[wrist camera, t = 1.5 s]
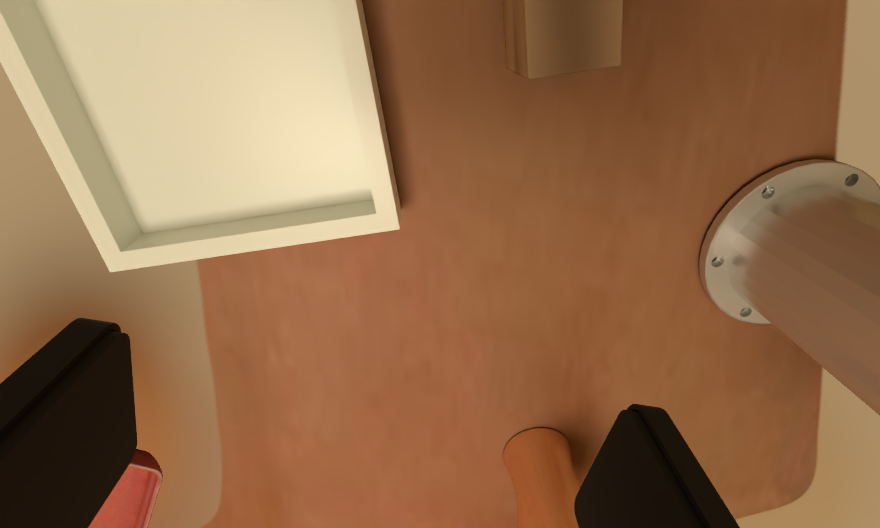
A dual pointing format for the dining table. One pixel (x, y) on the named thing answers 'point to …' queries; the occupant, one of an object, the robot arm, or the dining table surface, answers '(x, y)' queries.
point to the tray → (206, 121)
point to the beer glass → (542, 479)
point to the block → (561, 36)
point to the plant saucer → (132, 495)
